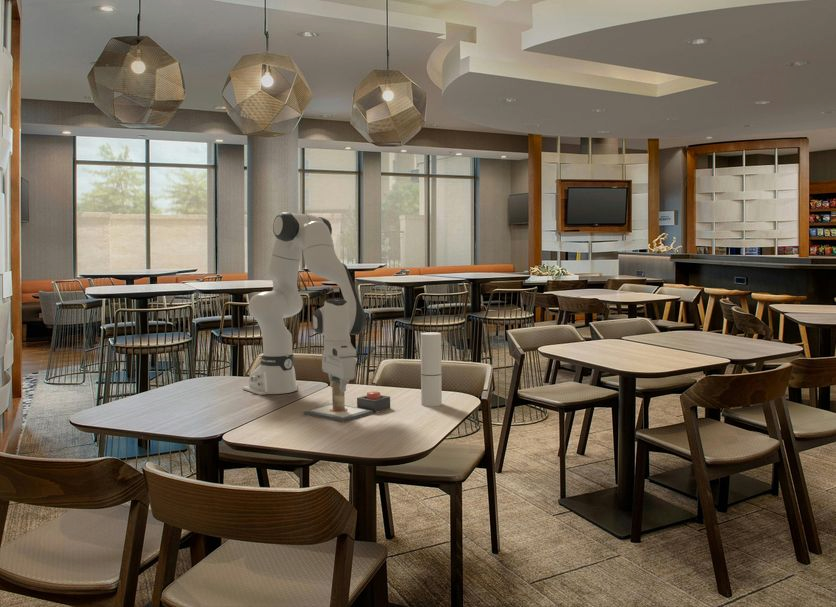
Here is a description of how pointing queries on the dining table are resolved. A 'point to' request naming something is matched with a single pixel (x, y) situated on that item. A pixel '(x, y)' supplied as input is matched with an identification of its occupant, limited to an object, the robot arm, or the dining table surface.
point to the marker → (337, 395)
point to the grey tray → (338, 413)
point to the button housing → (374, 403)
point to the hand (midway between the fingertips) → (338, 389)
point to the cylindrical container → (431, 369)
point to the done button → (373, 395)
